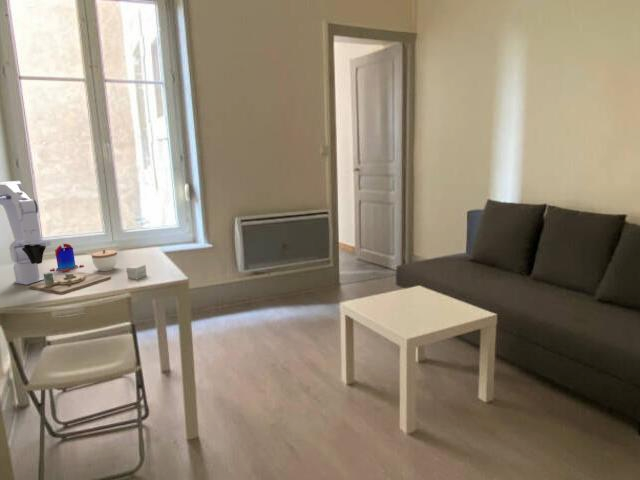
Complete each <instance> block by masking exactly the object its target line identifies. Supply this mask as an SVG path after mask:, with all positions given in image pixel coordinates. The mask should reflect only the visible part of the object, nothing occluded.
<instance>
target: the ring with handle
mask: <svg viewBox="0 0 640 480" xmlns="http://www.w3.org/2000/svg"><path fill="white" fill-rule="evenodd" d="M53 274H54V273H53V272H52V271H51V272H50V271H49V272H44V273H43V278H44V280H43V281H45V283H44V285H45V286H47V287H48V286H52V285H56V284H68V280H66V276H64V275H61V276H62V277H60V276H59V277H60V278H57V277H56V278H57V279H55V280H53V278H54V276H53ZM85 278H86V277H85V275H83V274H80V275H79V274H74V279H71V283H75V282H79V281H81V280H84V279H85ZM69 280H70V279H69Z"/></svg>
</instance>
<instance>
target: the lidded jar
mask: <svg viewBox="0 0 640 480" xmlns="http://www.w3.org/2000/svg"><path fill="white" fill-rule="evenodd" d="M90 256H91V259H92V264H93V265H94V267H95V268H96V269H97V270H99V271H100V272H107V271H112V270H113V269H114V268H115V267H116V266H117V264H118V263H117V262H118V251H117V250H113V249H112V250H106V249H102V250H101V251H96V252H94V253H92V254H91V255H90Z"/></svg>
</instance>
